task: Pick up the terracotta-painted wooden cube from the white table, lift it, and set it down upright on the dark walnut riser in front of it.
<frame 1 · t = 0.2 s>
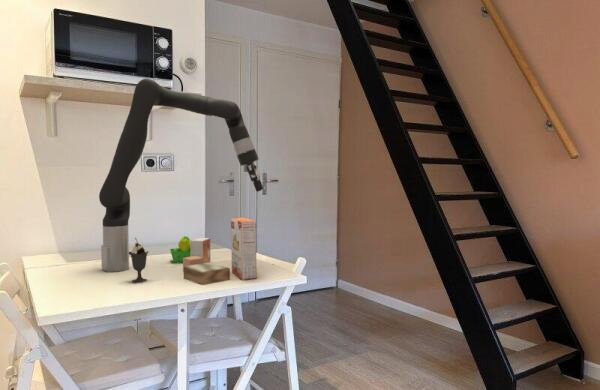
hand: (260, 190, 174), 31 cm above the table, tool tilted 20°, fingers open, 8 cm apart
small box: (200, 265, 182), on the table
fruit basket: (184, 262, 188), on the table
cracker box: (243, 276, 163), on the table
cube: (193, 272, 169), on the table
riser: (206, 278, 158), on the table
sundae: (139, 281, 154), on the table
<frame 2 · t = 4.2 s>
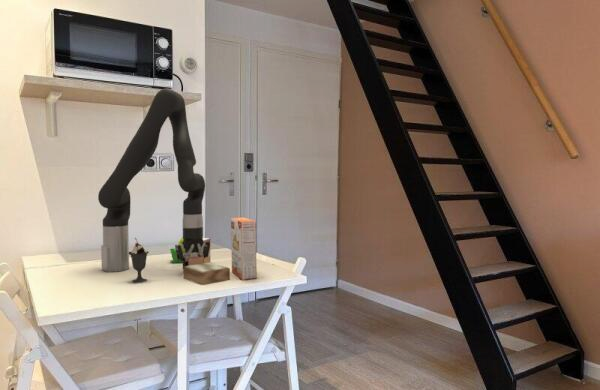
hand: (193, 269, 169), 1 cm above the table, tool pointing down, fingers closed on cube, 5 cm apart
cube: (193, 271, 169), on the table, touching gripper
everything else where it was.
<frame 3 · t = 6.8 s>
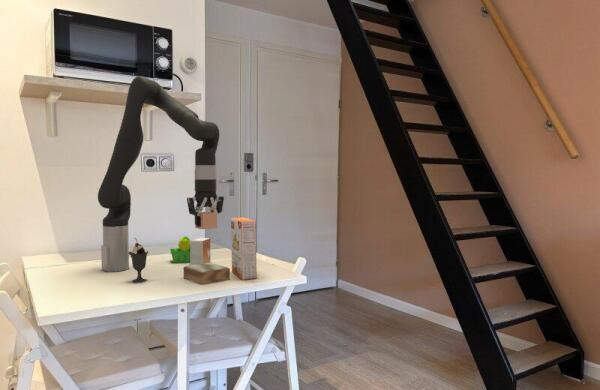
hand: (206, 225, 157), 19 cm above the table, tool pointing down, fingers closed on cube, 5 cm apart
cube: (206, 228, 157), point 18 cm above the table, touching gripper
everything else where it was.
when the fingers open (6 cm above the table, at t = 9.5 s): cube drops 1 cm, resting on riser.
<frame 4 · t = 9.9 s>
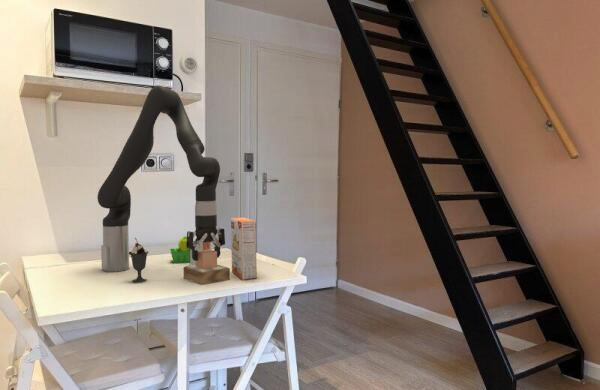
hand: (206, 259, 157), 7 cm above the table, tool pointing down, fingers open, 8 cm apart
cube: (206, 266, 158), point 4 cm above the table, touching riser
everything else where it was.
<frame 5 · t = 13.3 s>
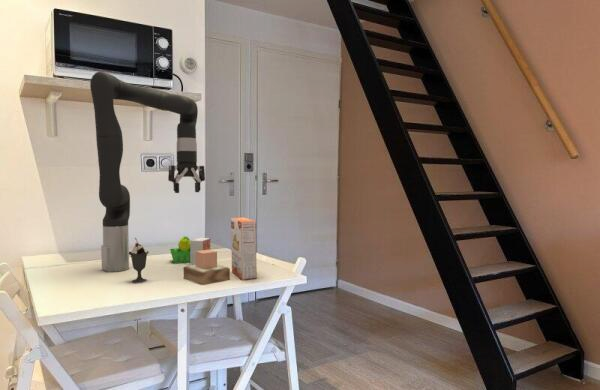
hand: (187, 192, 170), 30 cm above the table, tool pointing down, fingers open, 8 cm apart
nothing on the table moved.
at the end: cube 0.0 cm from the riser (horizontally); cube point 4.3 cm above the table; cube tilted 0° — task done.
